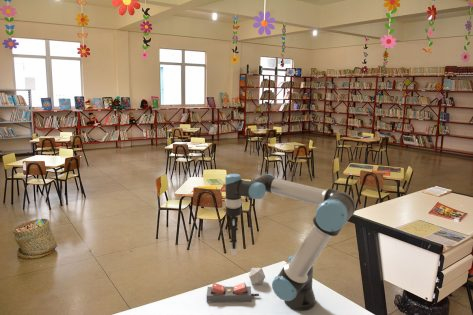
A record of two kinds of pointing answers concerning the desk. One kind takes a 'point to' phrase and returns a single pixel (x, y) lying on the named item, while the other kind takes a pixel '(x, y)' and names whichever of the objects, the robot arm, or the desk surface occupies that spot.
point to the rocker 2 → (240, 288)
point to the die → (256, 276)
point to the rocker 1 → (217, 288)
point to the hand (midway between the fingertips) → (234, 248)
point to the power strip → (230, 295)
